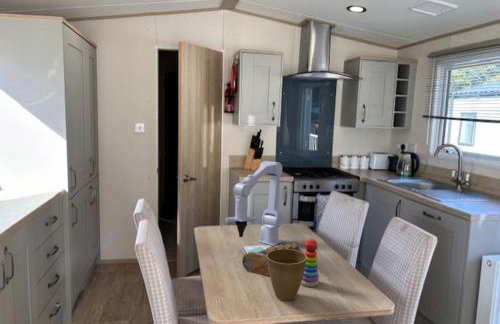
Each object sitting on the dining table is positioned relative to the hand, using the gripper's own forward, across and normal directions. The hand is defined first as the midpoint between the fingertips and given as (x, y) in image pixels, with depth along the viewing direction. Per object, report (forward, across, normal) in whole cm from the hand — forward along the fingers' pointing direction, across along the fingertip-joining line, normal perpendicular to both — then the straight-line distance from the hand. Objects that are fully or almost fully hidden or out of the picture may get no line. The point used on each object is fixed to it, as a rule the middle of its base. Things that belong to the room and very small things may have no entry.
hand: (240, 236), depth 179 cm
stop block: (+10, +28, 0) cm, 30 cm away
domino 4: (+9, +19, 0) cm, 21 cm away
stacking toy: (+10, +24, -32) cm, 41 cm away
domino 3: (+9, +15, 0) cm, 18 cm away
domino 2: (+9, +11, 0) cm, 14 cm away
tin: (+10, +5, -19) cm, 22 cm away
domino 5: (+9, +22, 0) cm, 24 cm away
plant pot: (+10, +11, -41) cm, 44 cm away
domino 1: (+9, +4, 0) cm, 10 cm away
